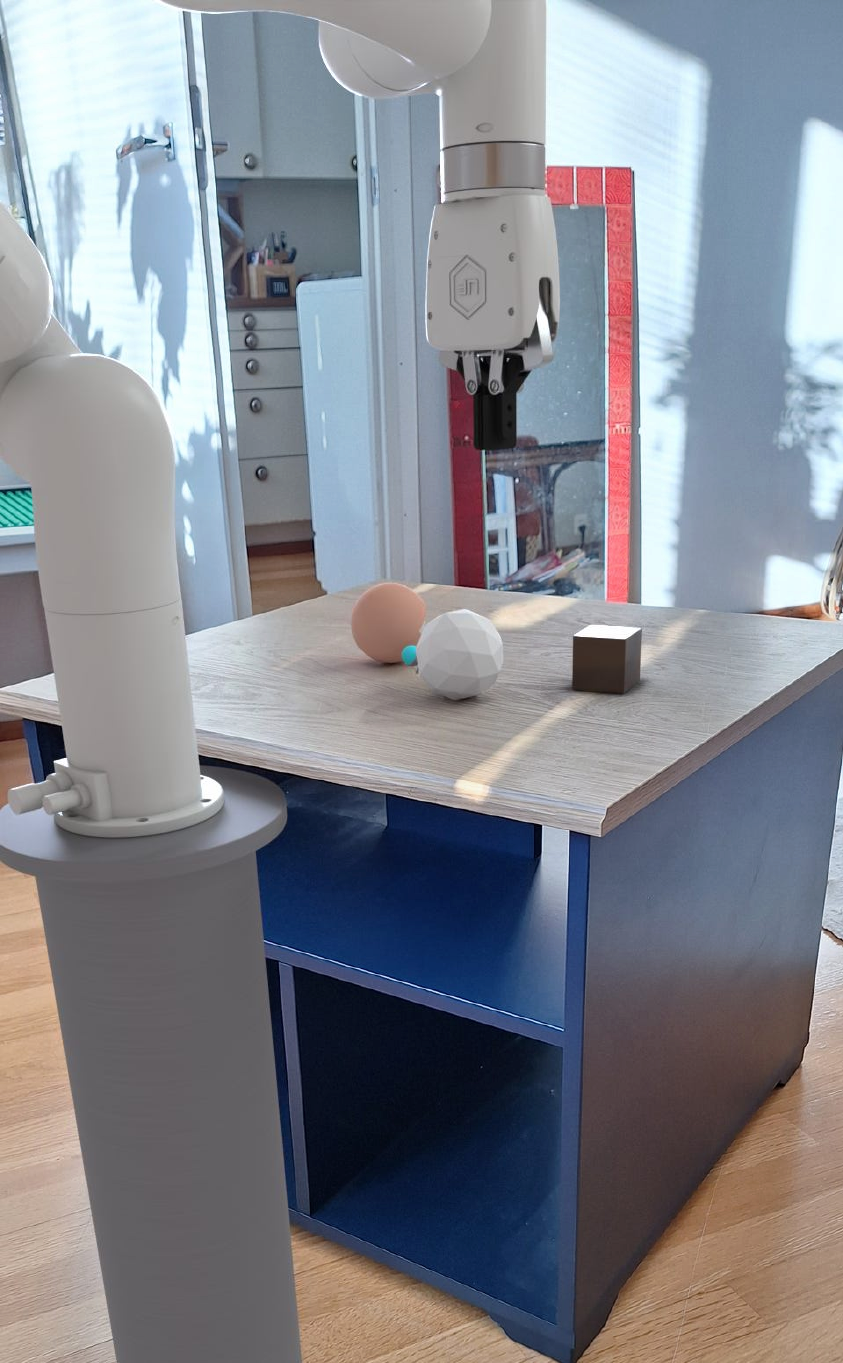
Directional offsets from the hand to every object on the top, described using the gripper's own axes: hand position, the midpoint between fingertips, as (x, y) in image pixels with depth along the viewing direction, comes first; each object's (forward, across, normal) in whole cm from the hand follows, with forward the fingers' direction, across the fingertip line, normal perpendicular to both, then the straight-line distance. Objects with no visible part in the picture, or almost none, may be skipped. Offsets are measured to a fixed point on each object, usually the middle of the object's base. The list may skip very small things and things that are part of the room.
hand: (495, 448), depth 100 cm
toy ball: (+22, -24, +10) cm, 34 cm away
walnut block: (+22, -1, +16) cm, 27 cm away
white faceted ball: (+22, -11, +5) cm, 25 cm away
